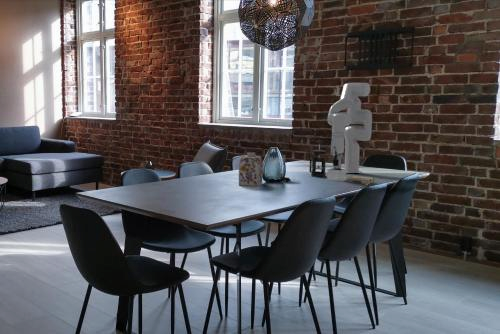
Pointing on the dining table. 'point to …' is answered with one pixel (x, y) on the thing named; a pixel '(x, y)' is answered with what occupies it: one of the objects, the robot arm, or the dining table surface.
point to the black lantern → (313, 164)
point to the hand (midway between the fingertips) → (337, 165)
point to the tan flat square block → (360, 180)
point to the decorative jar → (250, 170)
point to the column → (338, 163)
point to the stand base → (336, 174)
